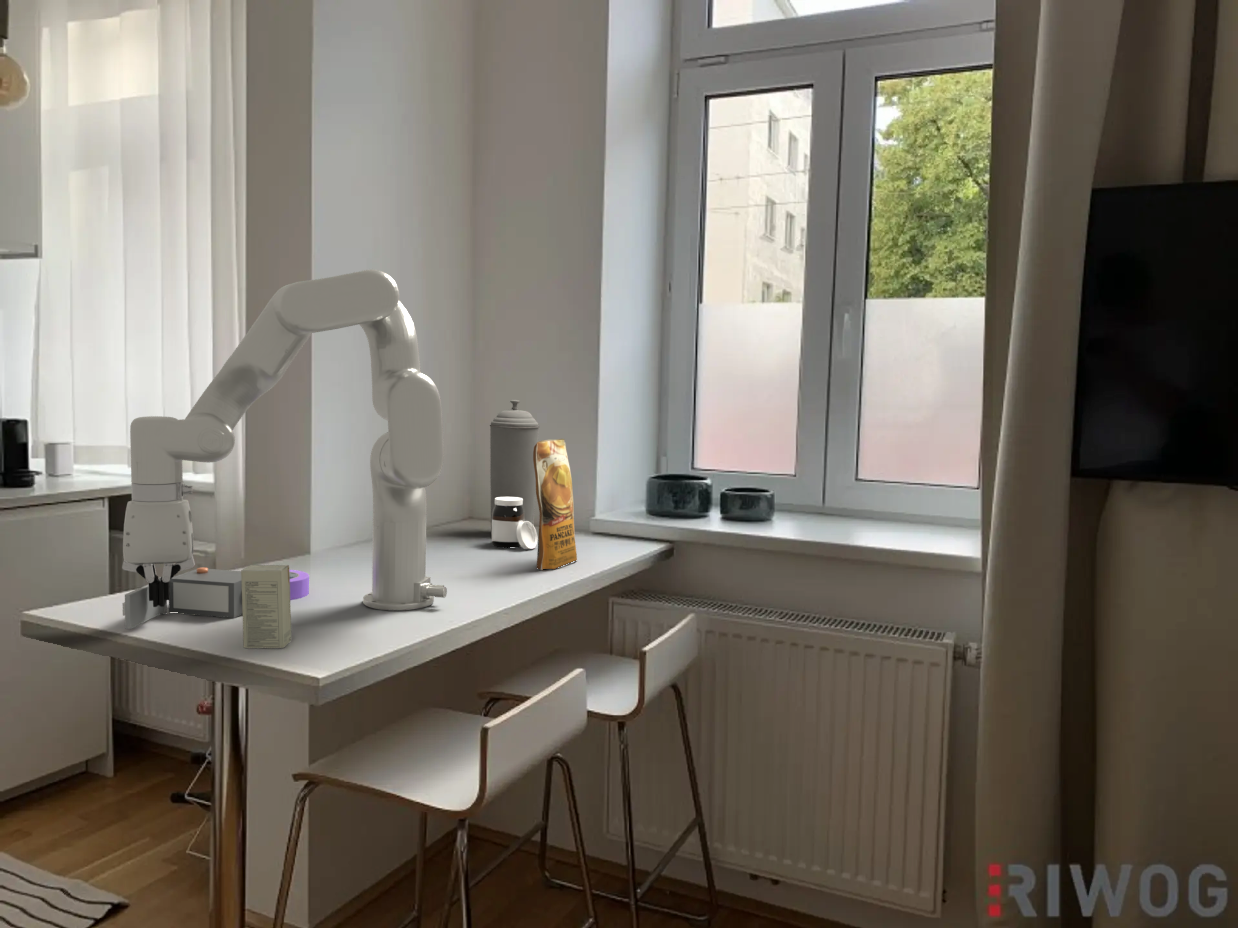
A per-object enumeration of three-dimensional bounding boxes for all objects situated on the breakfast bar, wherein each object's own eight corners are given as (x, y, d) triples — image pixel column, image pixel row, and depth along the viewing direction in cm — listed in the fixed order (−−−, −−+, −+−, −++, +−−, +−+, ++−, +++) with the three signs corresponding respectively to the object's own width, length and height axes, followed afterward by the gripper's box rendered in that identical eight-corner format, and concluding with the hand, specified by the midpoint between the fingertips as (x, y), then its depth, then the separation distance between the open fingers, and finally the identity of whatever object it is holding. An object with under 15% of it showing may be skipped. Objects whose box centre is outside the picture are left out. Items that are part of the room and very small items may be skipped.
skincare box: (292, 641, 155) (292, 564, 154) (283, 649, 151) (283, 570, 150) (250, 640, 155) (250, 563, 154) (240, 648, 151) (240, 569, 149)
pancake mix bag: (519, 569, 215) (522, 440, 212) (560, 555, 232) (563, 436, 229) (547, 573, 212) (550, 442, 209) (586, 559, 229) (590, 438, 227)
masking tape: (317, 589, 191) (317, 570, 191) (296, 604, 180) (296, 583, 179) (257, 587, 192) (257, 567, 191) (232, 601, 180) (232, 580, 180)
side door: (131, 631, 157) (131, 592, 157) (121, 630, 157) (120, 592, 157) (168, 612, 169) (167, 576, 169) (158, 612, 169) (158, 576, 169)
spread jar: (495, 541, 248) (496, 495, 247) (540, 543, 248) (541, 497, 247) (487, 550, 236) (488, 501, 235) (534, 552, 236) (535, 503, 235)
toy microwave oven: (268, 606, 176) (268, 569, 176) (240, 618, 167) (240, 579, 167) (199, 600, 178) (199, 564, 178) (168, 613, 169) (167, 574, 169)
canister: (528, 540, 251) (531, 401, 248) (480, 537, 254) (483, 399, 250) (542, 532, 263) (545, 400, 260) (496, 529, 266) (499, 398, 263)
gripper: (209, 489, 166) (211, 597, 168) (110, 490, 162) (113, 601, 163) (205, 495, 159) (206, 608, 161) (101, 497, 154) (104, 612, 156)
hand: (159, 604), depth 162 cm, fingers closed
